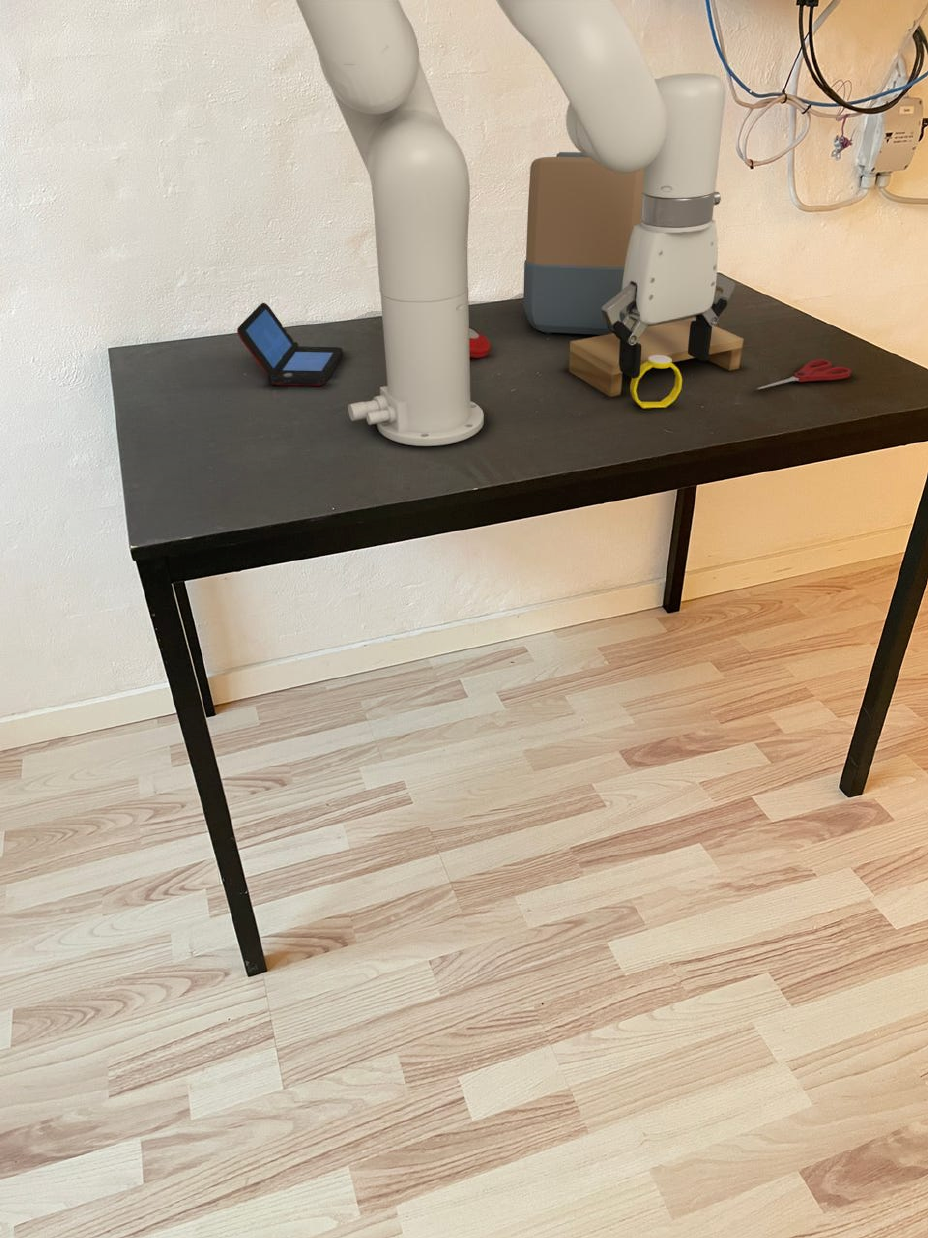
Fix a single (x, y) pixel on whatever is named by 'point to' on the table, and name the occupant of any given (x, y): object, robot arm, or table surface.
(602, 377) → the desk stand
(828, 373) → the scissors
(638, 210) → the brown blue rounded box
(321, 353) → the handheld game console
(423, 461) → the table surface
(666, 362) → the watch
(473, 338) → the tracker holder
